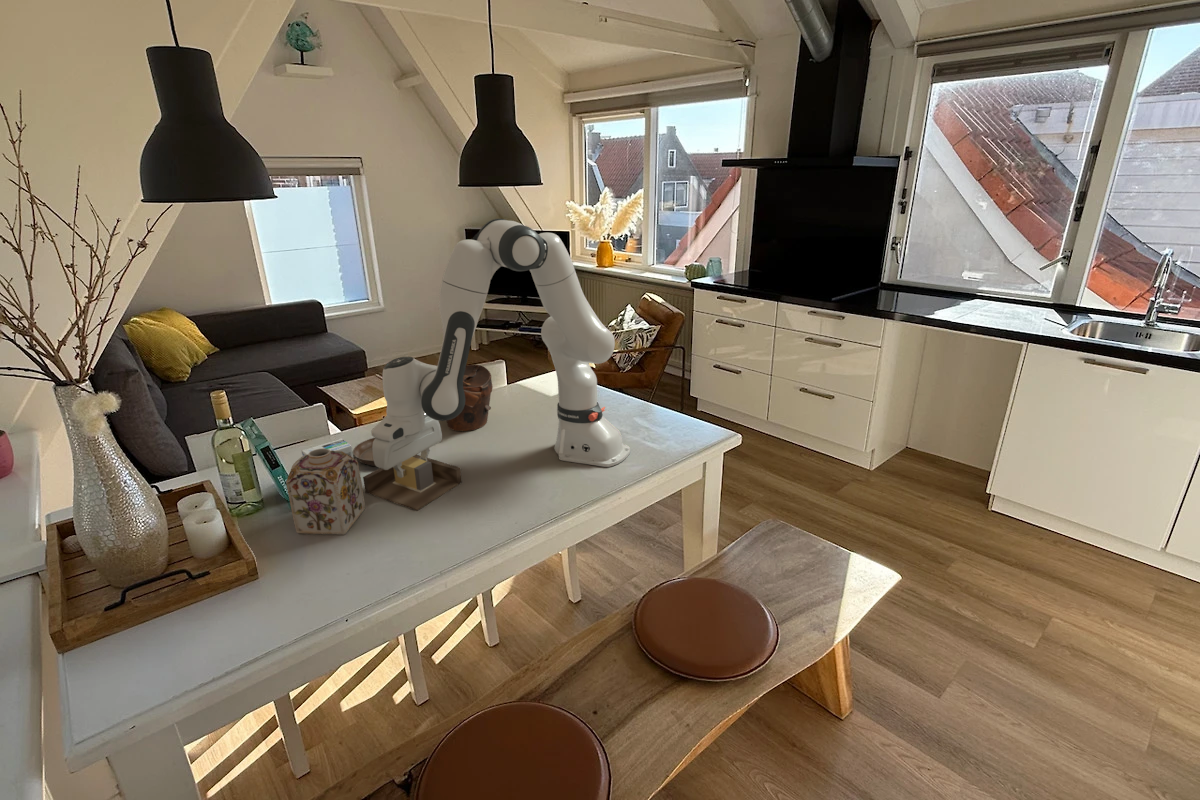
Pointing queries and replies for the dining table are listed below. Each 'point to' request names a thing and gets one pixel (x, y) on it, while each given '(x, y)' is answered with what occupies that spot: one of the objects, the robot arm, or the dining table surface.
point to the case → (474, 399)
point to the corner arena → (388, 489)
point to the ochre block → (416, 473)
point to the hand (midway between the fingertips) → (412, 470)
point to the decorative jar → (325, 492)
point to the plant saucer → (365, 452)
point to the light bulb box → (332, 447)
